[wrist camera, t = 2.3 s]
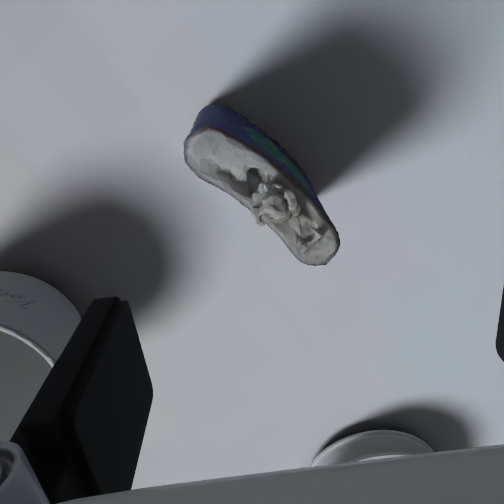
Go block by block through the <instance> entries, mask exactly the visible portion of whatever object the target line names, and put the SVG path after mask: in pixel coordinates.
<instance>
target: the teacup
mask: <svg viewBox="0 0 504 504" xmlns="http://www.w3.org/2000/svg"><path fill="white" fill-rule="evenodd" d="M80 321H81V317H80V315H79V313H78V311H77V310H76V308H75V307H74V305H73V304H72V303H71V302H70V301H69V300H68V299H67V298H66V297H65V296H64V295H63V294H62V293H61V292H60V291H58V290H57V289H56V288H54V287H53V286H51V285H49V284H47V283H46V282H44V281H42V280H39V279H37V278H34V277H31V276H28V275H24V274H20V273H15V272H5V271H0V441H10V439H11V437H12V436H13V434H14V432H15V431H16V429H17V427H18V425H19V424H20V422H21V420H22V419H23V417H24V415H25V413H26V412H27V410H28V408H29V407H30V405H31V403H32V402H33V400H34V398H35V396H36V395H37V393H38V391H39V390H40V388H41V386H42V384H43V383H44V381H45V379H46V378H47V376H48V374H49V373H50V371H51V369H52V367H53V366H54V364H55V362H56V361H57V360H58V358H59V357H60V355H61V354H62V352H63V350H64V348H65V347H66V345H67V343H68V342H69V340H70V338H71V336H72V335H73V333H74V331H75V330H76V328H77V326H78V324H79V323H80Z"/></svg>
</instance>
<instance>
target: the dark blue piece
mask: <svg viewBox="0 0 504 504" xmlns="http://www.w3.org/2000/svg"><path fill="white" fill-rule="evenodd" d="M184 157H185V162H186V164H187V165H188V166H189V168H190V169H191V170H192V171H193V172H194V173H195V174H196V175H197V176H198V177H199V178H201V179H202V180H204V181H206V182H208V183H210V184H212V185H214V186H216V187H218V188H219V189H221V190H223V191H225V192H226V193H228V194H230V195H231V196H232V197H234V198H235V199H236V200H238V201H239V202H240V203H241V204H242V205H244V206H245V207H247V208H248V209H249V210H251V214H252V215H253V217H254V218H255V219H256V222H257V224H258V225H259V226H263V225H265V223H266V224H267V225H268V226H269V227H270V228H271V229H272V230H273V231H274V232H275V233H276V234H277V235H278V236H279V237H280V238H281V239H282V240H283V242H284V243H285V244H286V246H287V247H288V249H289V250H290V251H291V253H292V254H293V255H294V256H295V257H296V258H297V259H298V260H299V261H300V262H302V263H304V264H307V265H314V266H317V265H326V264H327V263H328V262H329V261H330V260H331V259H332V258H333V257H334V256H335V254H336V253H337V251H338V249H339V246H340V239H339V234H338V232H337V231H336V228H335V226H334V225H333V223H332V222H331V220H330V219H329V217H328V215H327V214H326V212H325V210H324V208H323V206H322V204H321V202H320V201H319V199H318V197H317V196H316V194H315V192H314V190H313V187H312V184H311V182H310V181H309V179H308V177H307V175H306V173H305V172H304V171H303V169H302V168H301V167H299V165H298V163H297V161H296V160H295V159H293V158H292V157H291V155H290V154H289V153H288V152H287V151H286V150H285V148H282V147H281V146H280V144H279V143H278V142H277V141H276V140H273V139H272V138H270V137H268V135H267V134H265V133H264V132H263V131H261V130H260V129H259V128H258V127H256V126H255V125H254V124H251V123H250V122H249V121H248V120H247V119H245V118H244V117H243V116H240V115H239V114H238V113H236V112H234V110H231V109H229V108H227V107H225V106H221V105H208V106H206V107H204V108H203V109H202V110H201V111H200V112H199V113H198V116H197V118H196V121H195V122H194V125H193V128H192V130H191V133H190V134H189V135H188V136H187V138H186V139H185V141H184ZM264 222H265V223H264Z"/></svg>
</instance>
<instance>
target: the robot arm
mask: <svg viewBox="0 0 504 504" xmlns="http://www.w3.org/2000/svg"><path fill="white" fill-rule="evenodd" d="M496 350H497V353H498V355H499V357H500V358H501V359H502V360H503V361H504V288H503V295H502V302H501V309H500V316H499V323H498V330H497V337H496ZM152 399H153V388H152V383H151V379H150V376H149V372H148V369H147V365H146V362H145V358H144V355H143V351H142V348H141V344H140V341H139V337H138V334H137V330H136V327H135V323H134V320H133V316H132V313H131V309H130V306H129V303H128V302H127V301H121V299H120V298H119V297H118V296H113V297H105V298H97V299H94V300H93V301H92V302H91V304H90V306H89V307H88V309H87V311H86V312H85V314H84V316H83V318H82V319H81V321H80V323H79V324H78V326H77V328H76V330H75V331H74V333H73V335H72V336H71V338H70V340H69V342H68V343H67V345H66V347H65V348H64V350H63V352H62V354H61V355H60V357H59V358H58V360H57V361H56V362H55V364H54V366H53V367H52V369H51V371H50V373H49V374H48V376H47V378H46V379H45V381H44V383H43V384H42V386H41V388H40V390H39V391H38V393H37V395H36V396H35V398H34V400H33V402H32V403H31V405H30V407H29V408H28V410H27V412H26V413H25V415H24V417H23V419H22V420H21V422H20V424H19V425H18V427H17V429H16V431H15V432H14V434H13V436H12V437H11V439H10V441H0V504H504V444H503V445H494V446H485V447H476V448H468V449H459V450H451V451H442V452H433V453H425V454H416V455H408V456H399V457H391V458H382V459H374V460H365V461H357V462H348V463H340V464H332V465H323V466H315V467H307V468H299V469H291V470H283V471H275V472H267V473H258V474H250V475H242V476H234V477H226V478H218V479H210V480H202V481H194V482H186V483H178V484H171V485H163V486H155V487H147V488H141V489H134V490H131V487H132V483H133V479H134V475H135V470H136V466H137V462H138V458H139V454H140V450H141V445H142V441H143V437H144V433H145V429H146V425H147V420H148V416H149V412H150V408H151V404H152Z"/></svg>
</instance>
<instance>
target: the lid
mask: <svg viewBox="0 0 504 504" xmlns="http://www.w3.org/2000/svg"><path fill="white" fill-rule="evenodd" d="M433 452H434V451H433V450H432V448H431V447H430V446H429V445H428V444H427V443H425V442H424V441H423V440H421V439H419V438H417V437H416V436H414V435H411V434H408V433H404V432H400V431H393V430H374V431H366V432H361V433H357V434H354V435H351V436H348V437H345V438H343V439H341V440H338V441H337V442H335V443H333V444H331V445H330V446H328V447H327V448H326V449H324V450H323V451H322V452H321V453H320V454H319V455H318V456H316V458H315V459H314V460H313V461H312V463H311V464H310V466H309V467H315V466H323V465H332V464H340V463H348V462H357V461H365V460H374V459H382V458H391V457H399V456H408V455H416V454H425V453H433Z"/></svg>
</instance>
